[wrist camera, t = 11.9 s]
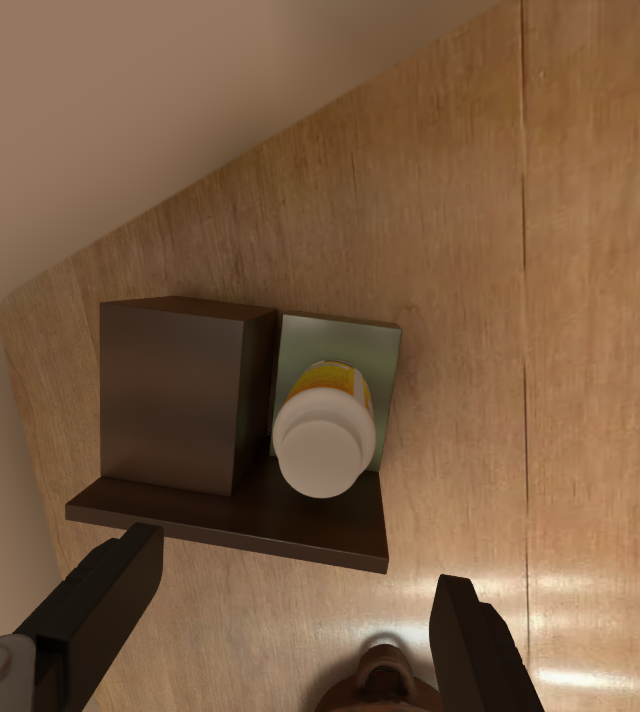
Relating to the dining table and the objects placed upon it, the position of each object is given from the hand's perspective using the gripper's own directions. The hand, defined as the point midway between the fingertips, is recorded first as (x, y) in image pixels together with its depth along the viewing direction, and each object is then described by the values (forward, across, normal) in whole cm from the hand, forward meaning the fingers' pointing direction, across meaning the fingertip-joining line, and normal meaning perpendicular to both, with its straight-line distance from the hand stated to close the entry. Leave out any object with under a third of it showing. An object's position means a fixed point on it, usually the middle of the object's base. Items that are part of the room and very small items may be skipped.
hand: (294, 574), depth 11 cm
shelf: (+20, +5, +1) cm, 21 cm away
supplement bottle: (+17, 0, 0) cm, 17 cm away
